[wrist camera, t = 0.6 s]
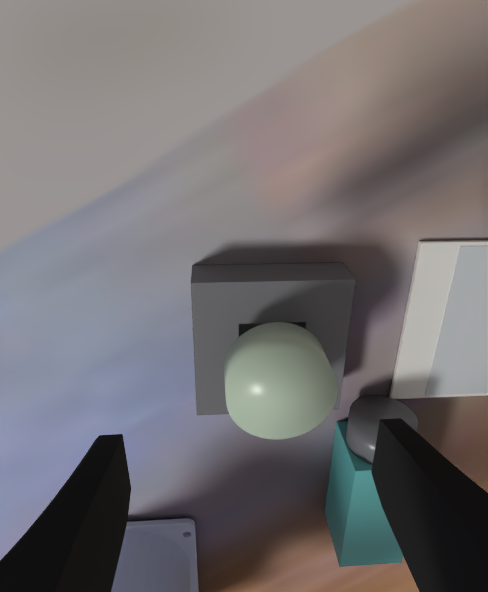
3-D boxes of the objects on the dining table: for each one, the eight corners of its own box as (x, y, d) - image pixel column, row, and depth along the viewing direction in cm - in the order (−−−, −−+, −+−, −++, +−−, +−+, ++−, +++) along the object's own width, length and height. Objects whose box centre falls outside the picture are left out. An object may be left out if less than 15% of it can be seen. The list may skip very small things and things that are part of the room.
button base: (328, 384, 24) (338, 409, 22) (197, 389, 23) (196, 415, 21) (342, 262, 21) (355, 279, 19) (192, 265, 20) (190, 283, 18)
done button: (314, 386, 21) (332, 436, 18) (223, 389, 21) (226, 442, 18) (322, 305, 19) (343, 346, 16) (222, 307, 19) (225, 350, 16)
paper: (526, 391, 25) (529, 394, 25) (389, 396, 24) (391, 399, 24) (581, 239, 21) (585, 240, 21) (419, 241, 20) (421, 242, 20)
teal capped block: (379, 507, 28) (401, 562, 25) (324, 511, 28) (339, 566, 25) (403, 393, 24) (433, 440, 21) (339, 395, 24) (360, 443, 21)
